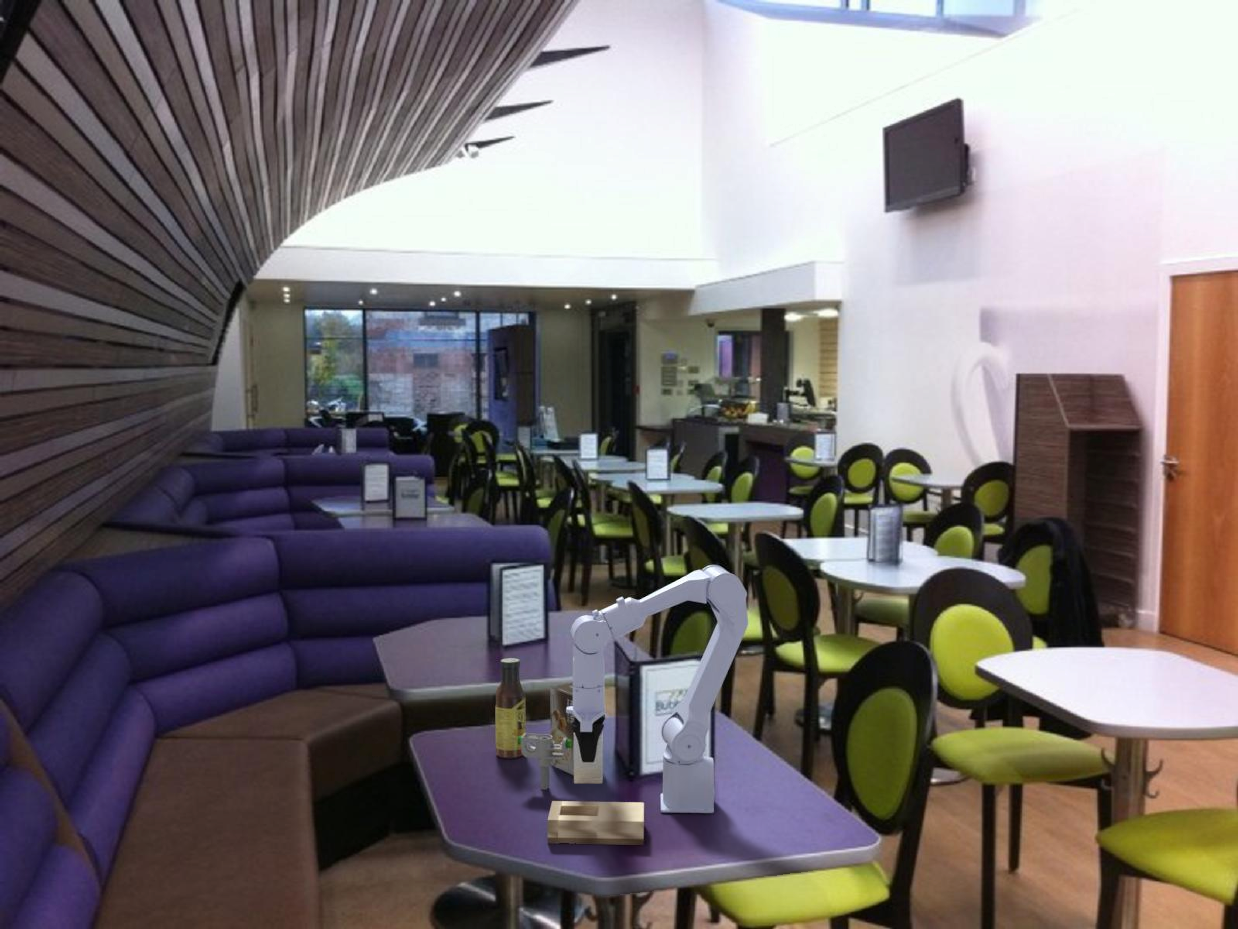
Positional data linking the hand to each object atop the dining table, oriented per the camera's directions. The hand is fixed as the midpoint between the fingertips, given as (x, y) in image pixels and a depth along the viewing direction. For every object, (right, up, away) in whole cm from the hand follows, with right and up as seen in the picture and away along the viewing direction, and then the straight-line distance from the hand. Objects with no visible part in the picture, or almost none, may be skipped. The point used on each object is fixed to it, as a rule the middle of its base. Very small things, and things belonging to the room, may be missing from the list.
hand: (588, 758), depth 185 cm
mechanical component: (-9, -9, +11) cm, 17 cm away
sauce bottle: (-17, -8, +30) cm, 35 cm away
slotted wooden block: (+2, -10, -9) cm, 14 cm away
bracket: (0, -4, 0) cm, 4 cm away
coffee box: (-3, -8, +22) cm, 24 cm away
